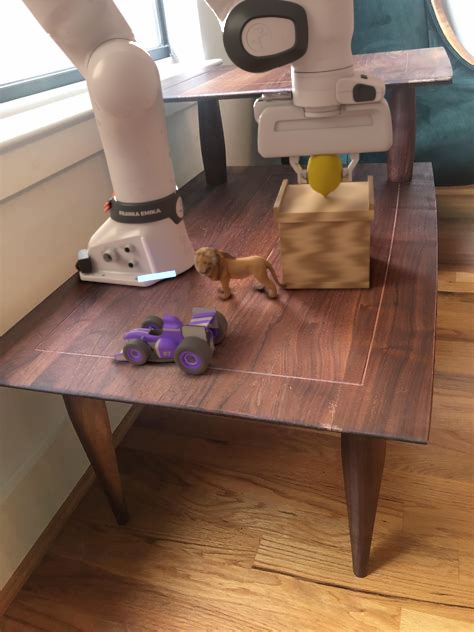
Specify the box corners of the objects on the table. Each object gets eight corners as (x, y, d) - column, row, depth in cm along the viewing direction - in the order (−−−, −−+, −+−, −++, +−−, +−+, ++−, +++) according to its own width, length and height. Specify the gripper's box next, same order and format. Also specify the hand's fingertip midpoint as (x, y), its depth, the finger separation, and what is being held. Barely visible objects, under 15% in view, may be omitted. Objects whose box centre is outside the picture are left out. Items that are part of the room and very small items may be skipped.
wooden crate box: (280, 290, 91) (273, 207, 84) (288, 255, 102) (283, 179, 94) (372, 290, 88) (374, 203, 80) (371, 254, 99) (372, 175, 91)
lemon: (312, 190, 91) (311, 141, 87) (345, 190, 89) (345, 141, 85) (303, 202, 87) (301, 151, 83) (338, 203, 85) (337, 151, 81)
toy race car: (139, 330, 85) (130, 294, 82) (230, 337, 81) (224, 299, 78) (110, 367, 78) (99, 329, 74) (209, 376, 73) (202, 336, 70)
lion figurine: (199, 305, 90) (190, 256, 85) (201, 289, 94) (193, 242, 90) (288, 297, 89) (284, 247, 84) (286, 281, 93) (282, 233, 89)
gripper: (248, 98, 79) (257, 191, 86) (395, 87, 74) (391, 185, 82) (255, 90, 84) (263, 177, 91) (393, 78, 80) (389, 172, 87)
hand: (325, 181), depth 87 cm, fingers closed on lemon, 5 cm apart
